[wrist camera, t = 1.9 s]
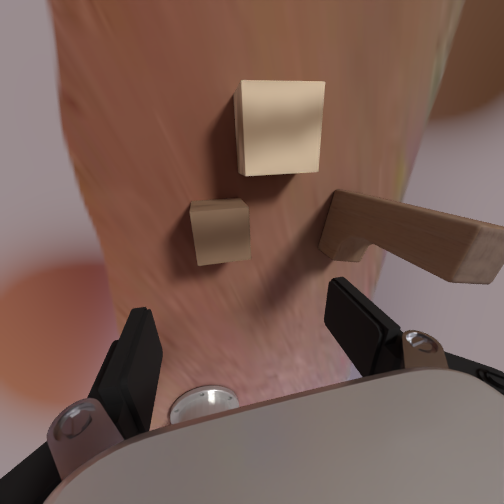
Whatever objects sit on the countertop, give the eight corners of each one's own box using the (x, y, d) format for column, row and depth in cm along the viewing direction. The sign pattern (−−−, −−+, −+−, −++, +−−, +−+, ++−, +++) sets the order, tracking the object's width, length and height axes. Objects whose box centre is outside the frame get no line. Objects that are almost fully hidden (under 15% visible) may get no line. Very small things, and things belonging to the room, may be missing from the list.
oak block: (299, 169, 29) (318, 171, 24) (238, 172, 27) (245, 176, 23) (302, 94, 25) (325, 81, 21) (233, 94, 24) (241, 80, 19)
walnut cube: (242, 241, 31) (251, 259, 26) (198, 246, 30) (197, 265, 25) (239, 197, 29) (248, 207, 23) (191, 201, 27) (189, 212, 22)
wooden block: (341, 250, 35) (463, 332, 19) (316, 248, 34) (422, 333, 18) (361, 193, 32) (527, 232, 16) (334, 188, 31) (483, 225, 15)
